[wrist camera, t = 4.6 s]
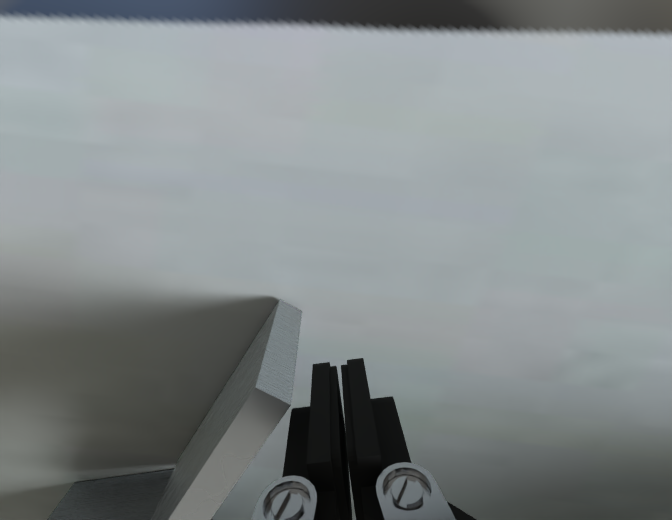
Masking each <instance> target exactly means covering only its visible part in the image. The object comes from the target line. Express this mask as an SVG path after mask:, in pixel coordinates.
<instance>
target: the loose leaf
mask: <svg viewBox="0 0 672 520" xmlns="http://www.w3.org/2000/svg"><path fill="white" fill-rule="evenodd" d="M301 316H302V311H301V310H299V309H297V308H295V307H294V306H292V305H290V304H288V303H286V302H284V301H283V300H281V299H280V300H279V301H278V303H277V304H276V306H275V308H274V309H273V311H272V312H271V314H270V315H269V317H268V319H267V320H266V322H265V323H264V325H263V327H262V328H261V330H260V331H259V333H258V334H257V336H256V338H255V339H254V341H253V342H252V344H251V346H250V347H249V349H248V350H247V352H246V353H245V355H244V357H243V358H242V360H241V361H240V363H239V364H238V366H237V368H236V369H235V371H234V372H233V374H232V376H231V377H230V379H229V380H228V382H227V383H226V385H225V387H224V388H223V390H222V391H221V393H220V395H219V396H218V398H217V399H216V401H215V402H214V404H213V406H212V407H211V409H210V410H209V412H208V414H207V415H206V417H205V418H204V420H203V421H202V423H201V425H200V426H199V428H198V429H197V431H196V433H195V434H194V436H193V437H192V439H191V440H190V442H189V444H188V445H187V447H186V448H185V450H184V452H183V453H182V455H181V456H180V458H179V460H178V462H177V464H176V466H175V468H174V470H173V473H172V475H171V477H170V479H169V481H168V484H167V486H166V488H165V490H164V492H163V494H162V497H161V499H160V501H159V503H158V505H157V507H156V510H155V512H154V514H153V516H152V518H151V520H211V519H212V517H213V516H214V514H215V513H216V511H217V510H218V509H219V507H220V506H221V504H222V503H223V501H224V500H225V499H226V497H227V496H228V494H229V493H230V491H231V490H232V488H233V487H234V486H235V484H236V483H237V481H238V480H239V478H240V477H241V476H242V474H243V473H244V471H245V470H246V468H247V467H248V466H249V464H250V463H251V461H252V460H253V458H254V457H255V456H256V454H257V453H258V451H259V450H260V448H261V447H262V446H263V444H264V443H265V441H266V440H267V438H268V437H269V436H270V434H271V433H272V431H273V430H274V428H275V427H276V426H277V424H278V423H279V421H280V420H281V418H282V417H283V416H284V414H285V413H286V411H287V410H288V408H289V407H290V406H291V400H292V392H293V383H294V375H295V366H296V358H297V350H298V341H299V333H300V324H301Z"/></svg>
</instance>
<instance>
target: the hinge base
mask: <svg viewBox="0 0 672 520" xmlns="http://www.w3.org/2000/svg"><path fill="white" fill-rule="evenodd" d="M173 470H174V469H172V470H164V471H157V472H150V473H143V474H135V475H128V476H121V477H113V478H106V479H99V480H92V481H84V482H77V483H74V484H73V486H72V487H71V488H70V490H69V491H68V492H67V494H66V495H65V496H64V498H63V499H62V500H61V502H60V503H59V505H58V506H57V507H56V509H55V510H54V511H53V513H52V514H51V515H50V517H49V518H48V519H47V520H151V518H152V516H153V514H154V512H155V510H156V507H157V505H158V503H159V501H160V499H161V497H162V494H163V492H164V490H165V488H166V486H167V484H168V481H169V479H170V477H171V475H172V473H173ZM211 520H212V519H211Z"/></svg>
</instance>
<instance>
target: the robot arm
mask: <svg viewBox="0 0 672 520" xmlns="http://www.w3.org/2000/svg"><path fill="white" fill-rule="evenodd" d="M341 372H342V386H343V400H344V414H345V424H344V417H343V410H342V403H341V396H340V389H339V381H338V374H337V367H336V366H332V367H330V363H329V362H328V363H319V364H313V370H312V387H311V403H310V407H302V408H294V409H292V412H291V418H290V425H289V433H288V440H287V448H286V455H285V463H284V470H283V477H282V478H280V479H277V480H275V481H274V482H273V483H271V484H270V485H268V486H267V487H266V489H265V490H264V491H263V492H262V493H261V495H260V497H259V499H258V501H257V504H256V507H255V510H254V513H253V515H252V518H251V520H352V509H351V495H350V481H349V472H350V479H351V486H352V493H353V500H354V507H355V514H356V520H476V519H475V518H473V517H471V516H470V515H468V514H466V513H465V512H463V511H462V510H460V509H458V508H457V507H455V506H453V505H452V504H450V503H449V502H447V501H446V499H445V497H444V495H443V494H442V492H441V490H440V488H439V486H438V484H437V482H436V480H435V479H434V477H433V476H432V475H431V473H430V472H429V471H427V470H426V469H425V468H423V467H422V466H419V465H417V464H414V463H411V460H410V457H409V453H408V449H407V446H406V442H405V438H404V435H403V431H402V427H401V424H400V420H399V417H398V413H397V409H396V406H395V402H394V399H393V397H384V398H376V399H370V393H369V388H368V382H367V377H366V371H365V366H364V360H363V358H360V359H352V360H347V365H341ZM345 428H346V431H345ZM348 464H349V467H348Z"/></svg>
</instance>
